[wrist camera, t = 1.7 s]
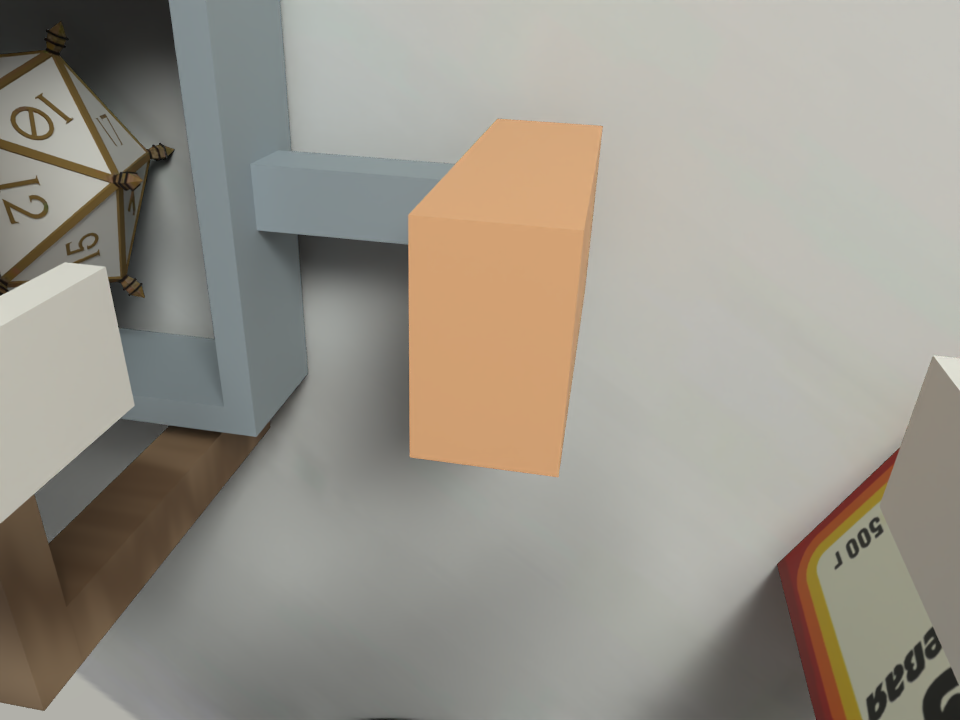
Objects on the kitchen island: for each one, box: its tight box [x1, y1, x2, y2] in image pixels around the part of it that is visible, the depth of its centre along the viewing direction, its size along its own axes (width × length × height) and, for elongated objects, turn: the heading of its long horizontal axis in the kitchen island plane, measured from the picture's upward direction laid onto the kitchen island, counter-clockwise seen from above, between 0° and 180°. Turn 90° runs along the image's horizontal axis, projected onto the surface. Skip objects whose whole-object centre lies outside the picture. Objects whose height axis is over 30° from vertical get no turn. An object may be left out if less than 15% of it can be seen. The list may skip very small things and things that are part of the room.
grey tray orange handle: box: [119, 0, 603, 477], centre depth 20 cm, size 15×25×12 cm, turn 88°
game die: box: [0, 21, 175, 298], centre depth 23 cm, size 9×8×10 cm
